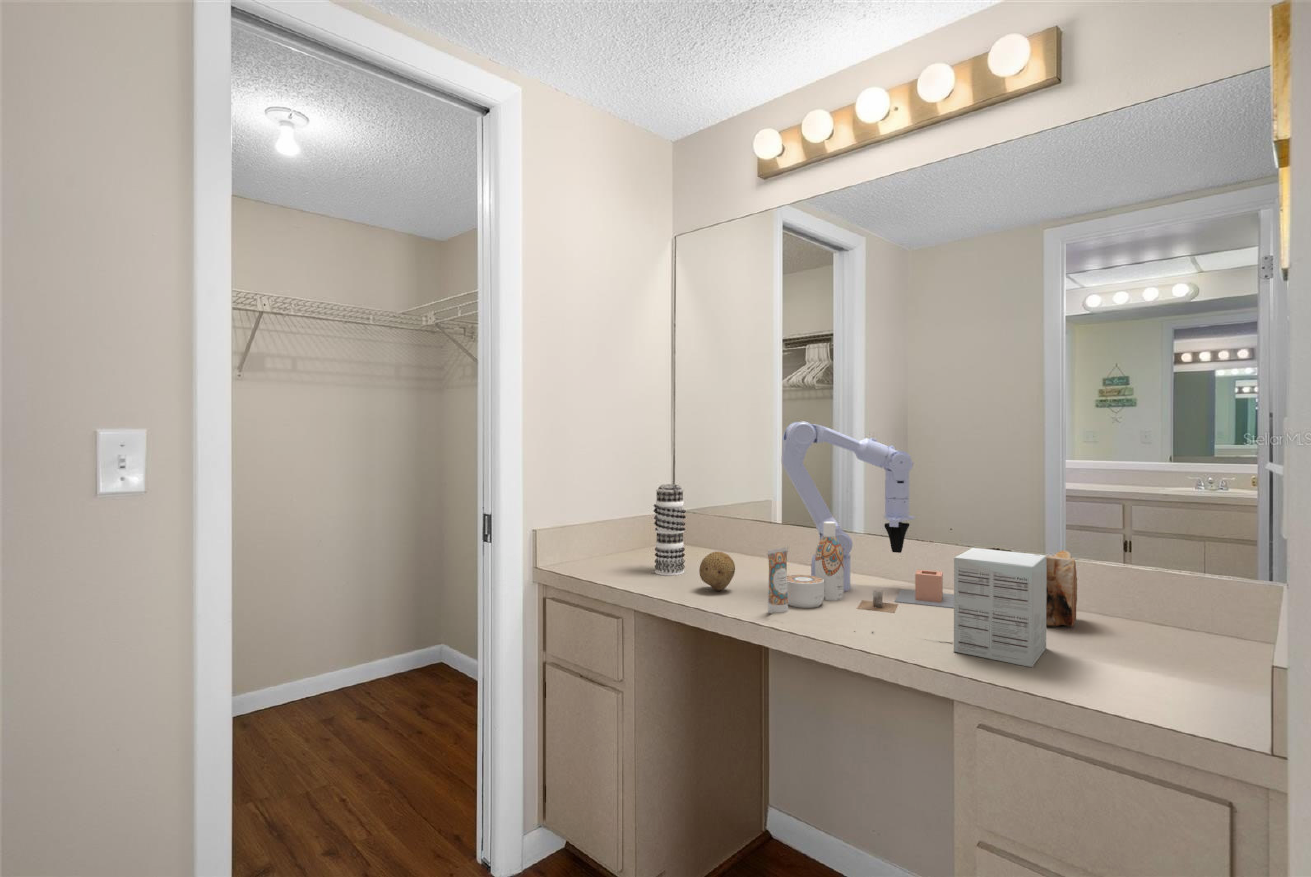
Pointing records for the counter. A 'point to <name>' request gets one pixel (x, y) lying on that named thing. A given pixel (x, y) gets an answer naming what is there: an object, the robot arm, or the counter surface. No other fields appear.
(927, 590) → the terracotta collar
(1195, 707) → the counter surface
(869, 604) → the walnut stand
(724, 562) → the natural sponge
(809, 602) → the cosmetic set
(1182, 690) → the counter surface
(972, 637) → the supplement box
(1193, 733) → the counter surface
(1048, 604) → the stone
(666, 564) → the decorative candle
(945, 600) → the board
